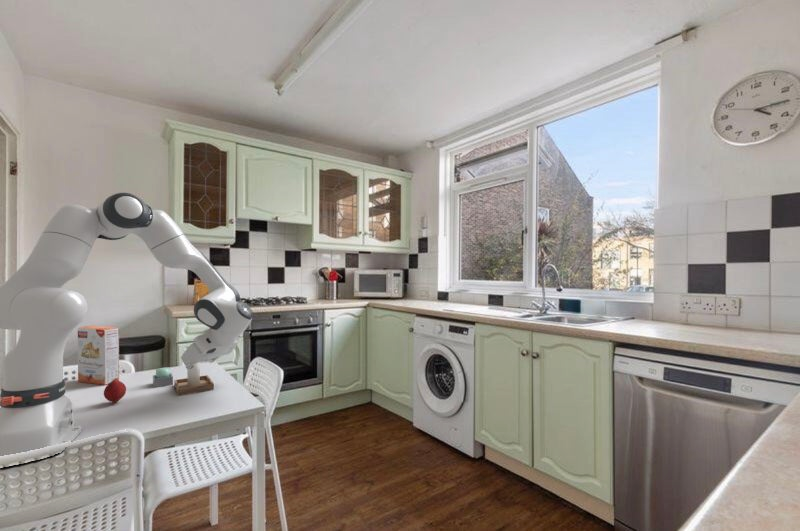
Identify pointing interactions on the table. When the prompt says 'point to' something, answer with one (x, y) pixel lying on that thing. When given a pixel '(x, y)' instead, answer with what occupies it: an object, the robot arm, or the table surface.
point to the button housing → (162, 381)
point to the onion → (114, 391)
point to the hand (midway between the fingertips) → (199, 364)
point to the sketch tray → (184, 389)
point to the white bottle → (193, 376)
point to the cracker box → (98, 354)
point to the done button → (162, 372)
